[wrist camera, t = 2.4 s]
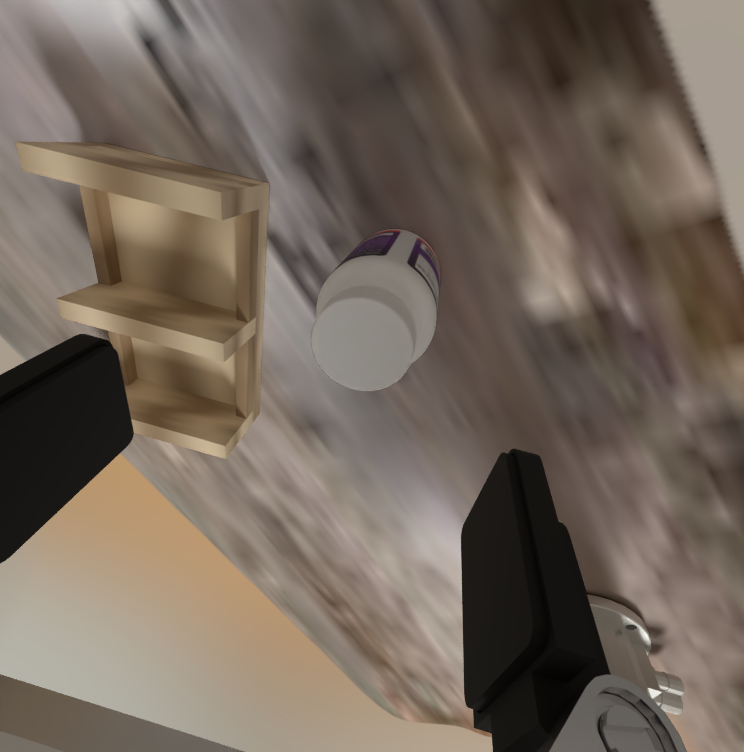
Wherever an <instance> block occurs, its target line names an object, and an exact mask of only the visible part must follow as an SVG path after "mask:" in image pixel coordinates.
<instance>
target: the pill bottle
mask: <svg viewBox="0 0 744 752" xmlns="http://www.w3.org/2000/svg"><path fill="white" fill-rule="evenodd" d="M440 283H441V274H440V266H439V262H438V259H437V257H436V254H435V253H434V251H433V249H432V248H431V247H430V246H429V244H428V243H427V242H426V241H425V240H423V239H422V238H421V237H419V236H418V235H416V234H414V233H412V232H409V231H406V230H401V229H387V230H382V231H379V232H376V233H374V234H372V235H371V236H369V237H368V238H366V239H365V240H364V241H362V242H361V243H360V244H359V245H358V246H357V247H356V248H355V249H354V250H353V252H352V253H351V254H350V255H349V256H348V257H347V258H346V259H345V260H344V261H343V262H342V263H341V264H340V265H339V266H338V267H337V268H336V269H335V270H334V271H333V272H332V273H331V275H330V276H329V277H328V278H327V280H326V281H325V283H324V284H323V286H322V288H321V290H320V293H319V296H318V300H317V306H316V318H317V319H316V320H315V323H314V325H313V328H312V333H311V346H312V351H313V354H314V357H315V359H316V361H317V363H318V364H319V366H320V367H321V369H322V370H323V371H324V372H325V373H326V374H327V375H328V376H329V377H330V378H331V379H333V380H334V381H335V382H337V383H339V384H341V385H343V386H345V387H347V388H350V389H354V390H358V391H376V390H381V389H384V388H387V387H389V386H391V385H393V384H394V383H396V382H397V381H398V380H400V379H401V378H402V377H403V375H404V374H405V373H406V371H407V370H408V368H409V366H410V364H412V363H413V362H415V361H416V360H417V359H418V358H419V357H420V356H421V355H422V354H423V353H424V352H425V350H426V349H427V348H428V346H429V344H430V342H431V340H432V338H433V335H434V332H435V327H436V322H437V313H438V304H439V294H440Z"/></svg>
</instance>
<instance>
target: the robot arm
mask: <svg viewBox="0 0 744 752" xmlns="http://www.w3.org/2000/svg"><path fill="white" fill-rule="evenodd" d="M133 434H134V430H133V425H132V420H131V415H130V410H129V406H128V401H127V396H126V391H125V386H124V381H123V376H122V371H121V366H120V361H119V356H118V353H117V351H116V350H115V349H114V348H113V345H112V344H111V343H110V341H107V340H105V339H101V338H97V337H94V336H90V335H86V334H79V335H76V336H74V337H72V338H70V339H68V340H66V341H64V342H63V343H61V344H59V345H57V346H55V347H53V348H51V349H49V350H47V351H45V352H43V353H41V354H40V355H38V356H36V357H34V358H32V359H30V360H28V361H26V362H24V363H22V364H20V365H18V366H16V367H15V368H13V369H11V370H9V371H7V372H5V373H3V374H1V375H0V563H2V562H3V561H5V560H6V559H8V558H9V557H10V556H11V555H12V554H13V553H15V552H16V551H17V550H18V549H19V548H20V547H21V546H22V545H23V544H24V543H25V542H26V541H27V540H28V539H29V538H30V537H31V536H32V535H34V534H35V532H37V531H38V530H39V529H40V528H41V527H42V526H43V525H44V524H45V523H46V522H47V521H48V520H49V519H51V518H52V517H53V516H54V515H55V514H56V513H57V512H58V511H59V510H60V509H61V508H62V507H63V506H64V505H65V504H66V503H68V501H70V500H71V499H72V498H73V497H74V496H75V495H76V494H77V493H78V492H79V491H80V490H81V489H82V488H83V487H84V486H86V485H87V484H88V483H89V482H90V481H91V480H92V479H93V478H94V477H95V476H96V475H97V474H98V473H99V472H100V471H101V470H103V469H104V468H105V467H106V466H107V465H108V464H109V463H110V462H111V461H112V460H113V459H114V458H115V457H116V456H117V455H118V454H119V453H121V452H122V451H123V450H124V449H125V448H126V447H127V446H128V445H129V444H130V442H131V440H132V438H133ZM461 557H462V604H463V652H464V694H465V702H466V705H467V707H468V708H471V709H473V715H474V728H476V729H479V730H483V731H486V732H489V733H492V743H493V752H687V750H686V748H685V746H684V744H683V741H682V739H681V737H680V735H679V733H678V732H677V730H676V728H675V727H674V725H673V724H672V722H671V721H670V719H669V718H668V716H667V715H666V713H665V712H664V711H666V712H669V713H672V714H675V715H678V714H681V712H682V709H683V703H682V699H681V695H683V693H684V685H683V682H682V680H681V679H680V678H679V677H677V676H675V675H671V674H668V673H665V672H658V671H655V669H654V668H653V667H652V666H651V663H650V661H649V658H648V654H649V652H650V650H651V638H650V636H649V633H648V630H647V628H646V626H645V624H644V622H643V621H642V619H641V618H640V617H639V616H637V615H636V614H635V613H634V612H633V611H631V610H630V609H628V608H626V607H625V606H623V605H621V604H619V603H616V602H614V601H612V600H609V599H605V598H602V597H599V596H594V595H588V594H587V593H586V589H585V586H584V582H583V579H582V576H581V572H580V569H579V566H578V562H577V559H576V555H575V552H574V549H573V545H572V542H571V538H570V535H569V533H568V530H567V528H566V527H565V525H564V524H563V523H561V522H558V518H557V515H556V511H555V507H554V504H553V500H552V496H551V493H550V489H549V486H548V482H547V478H546V475H545V471H544V468H543V464H542V460H541V458H540V456H538V455H536V454H532V453H528V452H525V451H521V450H517V449H512V450H511V451H510V452H509V453H508V454H507V453H501V454H500V456H499V458H498V460H497V461H496V463H495V465H494V467H493V469H492V471H491V473H490V475H489V477H488V479H487V481H486V482H485V484H484V486H483V488H482V490H481V492H480V494H479V496H478V498H477V500H476V502H475V503H474V505H473V507H472V509H471V511H470V513H469V515H468V517H467V519H466V521H465V523H464V525H463V528H462V534H461ZM0 752H244V751H241V750H238V749H235V748H231V747H228V746H225V745H222V744H219V743H216V742H212V741H209V740H206V739H203V738H200V737H197V736H194V735H191V734H188V733H184V732H181V731H178V730H175V729H172V728H169V727H166V726H162V725H159V724H156V723H153V722H150V721H147V720H143V719H140V718H137V717H134V716H131V715H128V714H124V713H121V712H118V711H115V710H112V709H109V708H105V707H102V706H99V705H96V704H93V703H90V702H86V701H83V700H80V699H77V698H74V697H70V696H67V695H64V694H61V693H57V692H55V691H51V690H48V689H45V688H42V687H39V686H35V685H32V684H29V683H26V682H22V681H19V680H16V679H13V678H10V677H7V676H4V675H0Z"/></svg>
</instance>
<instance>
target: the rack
mask: <svg viewBox="0 0 744 752" xmlns="http://www.w3.org/2000/svg"><path fill="white" fill-rule="evenodd" d="M15 143H16V147H17V151H18V154H19V158H20V162H21V166H22V170H23V171H26V172H30V173H34V174H38V175H42V176H46V177H50V178H54V179H58V180H62V181H66V182H70V183H74V184H78V185H79V187H80V192H81V197H82V202H83V207H84V212H85V217H86V222H87V227H88V232H89V237H90V242H91V247H92V253H93V258H94V263H95V268H96V273H97V278H98V283H97V284H94V285H92V286H89V287H86V288H84V289H81V290H78V291H76V292H73V293H70V294H68V295H65V296H62V297H60V298H57V302H58V306H59V310H60V314H61V317H62V318H64V319H67V320H71V321H75V322H78V323H82V324H86V325H89V326H93V327H97V328H100V329H104V330H107V331H108V334H109V339H110V343H111V344H112V345H113V348H114V349H115V350H116V351H117V353H118V356H119V361H120V366H121V371H122V376H123V381H124V386H125V391H126V396H127V401H128V406H129V410H130V415H131V420H132V425H133V430H134V433H137V434H140V435H144V436H147V437H151V438H154V439H158V440H161V441H165V442H168V443H172V444H175V445H179V446H182V447H185V448H189V449H192V450H196V451H199V452H203V453H206V454H210V455H213V456H217V457H220V458H224V459H226V458H227V457H228V455H229V454H230V452H231V451H232V450H233V448H234V447H235V446H236V444H237V443H238V442H239V440H240V439H241V438H242V436H243V435H244V434H245V432H246V431H247V430H248V428H249V427H250V426H251V424H252V423H253V421H254V420H255V419H256V417H257V416H258V415H259V406H260V384H261V362H262V339H263V317H264V295H265V272H266V250H267V228H268V206H269V183H266V182H262V181H258V180H254V179H249V178H245V177H241V176H237V175H233V174H229V173H225V172H221V171H217V170H213V169H208V168H204V167H200V166H196V165H192V164H188V163H184V162H180V161H176V160H172V159H167V158H163V157H159V156H155V155H151V154H147V153H143V152H139V151H135V150H130V149H126V148H122V147H118V146H114V145H110V144H106V143H76V142H15Z"/></svg>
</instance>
